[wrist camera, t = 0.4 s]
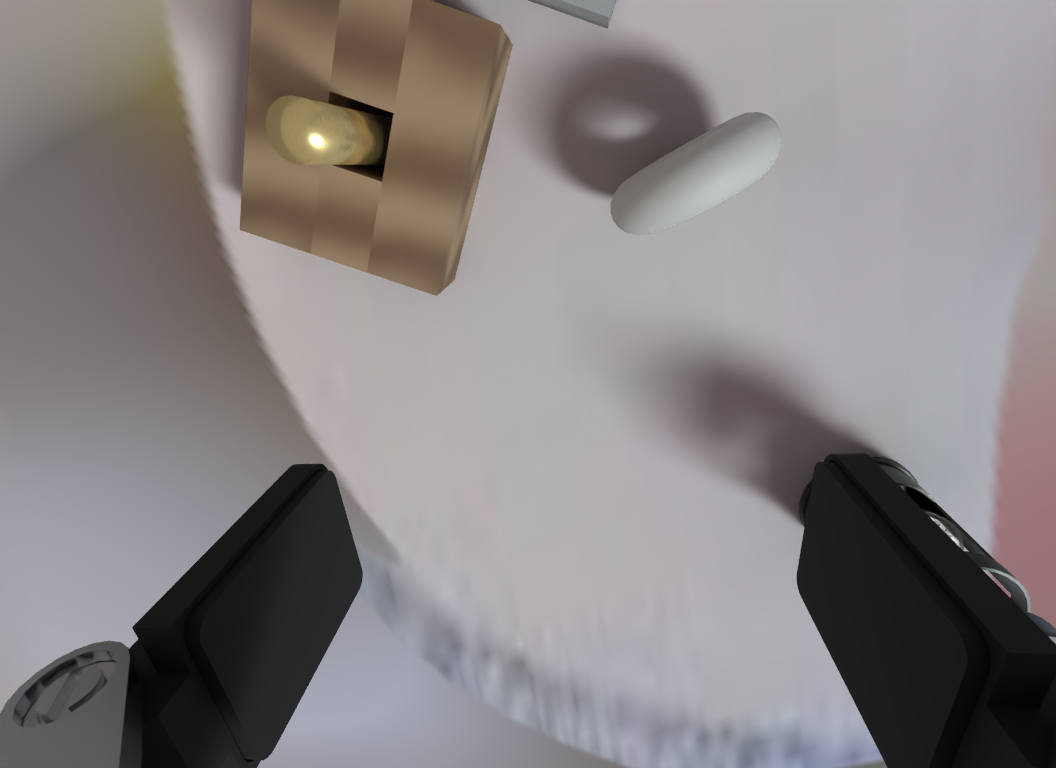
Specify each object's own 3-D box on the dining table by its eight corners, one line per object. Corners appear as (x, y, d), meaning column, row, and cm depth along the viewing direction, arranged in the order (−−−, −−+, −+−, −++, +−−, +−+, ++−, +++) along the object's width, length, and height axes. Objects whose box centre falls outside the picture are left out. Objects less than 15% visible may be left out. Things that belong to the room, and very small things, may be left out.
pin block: (303, -30, 31) (255, -62, 27) (512, 44, 32) (500, 24, 27) (281, 221, 38) (239, 229, 33) (454, 280, 38) (436, 295, 34)
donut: (739, 108, 32) (800, 85, 23) (757, 159, 33) (823, 157, 24) (598, 190, 35) (603, 199, 26) (620, 234, 36) (631, 258, 27)
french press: (930, 531, 43) (1256, 879, 22) (817, 562, 46) (1014, 900, 25) (899, 423, 39) (1254, 718, 18) (778, 464, 42) (971, 763, 21)
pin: (369, 111, 34) (268, 86, 23) (410, 125, 34) (329, 107, 23) (362, 156, 35) (263, 153, 24) (402, 170, 35) (321, 173, 25)
